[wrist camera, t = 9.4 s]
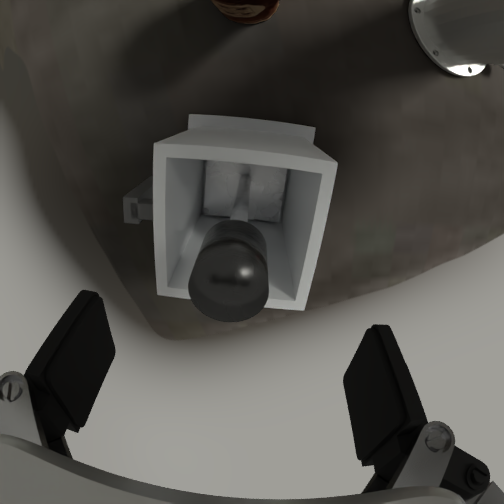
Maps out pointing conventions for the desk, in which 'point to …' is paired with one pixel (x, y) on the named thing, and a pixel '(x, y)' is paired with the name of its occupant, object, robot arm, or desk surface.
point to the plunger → (236, 240)
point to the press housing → (198, 224)
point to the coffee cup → (247, 10)
